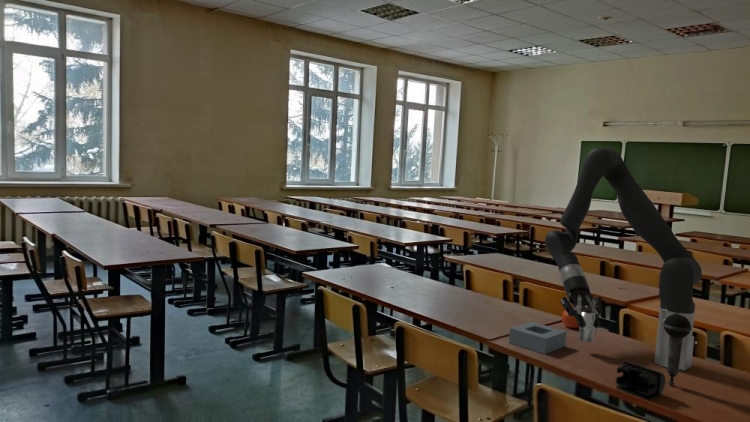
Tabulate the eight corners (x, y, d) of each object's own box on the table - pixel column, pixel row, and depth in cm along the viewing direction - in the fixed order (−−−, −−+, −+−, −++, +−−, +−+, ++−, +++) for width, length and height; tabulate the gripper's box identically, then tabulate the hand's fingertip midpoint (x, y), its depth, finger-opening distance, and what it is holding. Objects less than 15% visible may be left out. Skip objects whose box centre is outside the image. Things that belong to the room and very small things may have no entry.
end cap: (664, 396, 144) (666, 371, 143) (650, 402, 139) (653, 376, 139) (627, 382, 152) (630, 358, 151) (613, 387, 147) (616, 363, 147)
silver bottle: (596, 340, 174) (598, 306, 174) (589, 343, 172) (592, 308, 171) (582, 336, 178) (585, 303, 177) (576, 339, 175) (578, 305, 174)
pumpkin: (578, 331, 197) (580, 311, 196) (557, 326, 202) (558, 307, 202) (586, 327, 203) (588, 308, 202) (565, 322, 208) (567, 303, 207)
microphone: (690, 391, 147) (698, 318, 145) (664, 389, 147) (672, 317, 146) (677, 381, 154) (684, 311, 152) (652, 379, 154) (659, 310, 152)
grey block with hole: (565, 346, 180) (566, 331, 179) (544, 354, 171) (545, 338, 171) (530, 335, 189) (531, 321, 189) (509, 342, 180) (510, 328, 180)
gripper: (558, 274, 179) (573, 321, 168) (598, 274, 181) (617, 321, 170) (549, 286, 185) (564, 332, 174) (589, 287, 187) (606, 332, 176)
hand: (590, 326), depth 172 cm, fingers closed on silver bottle, 4 cm apart
